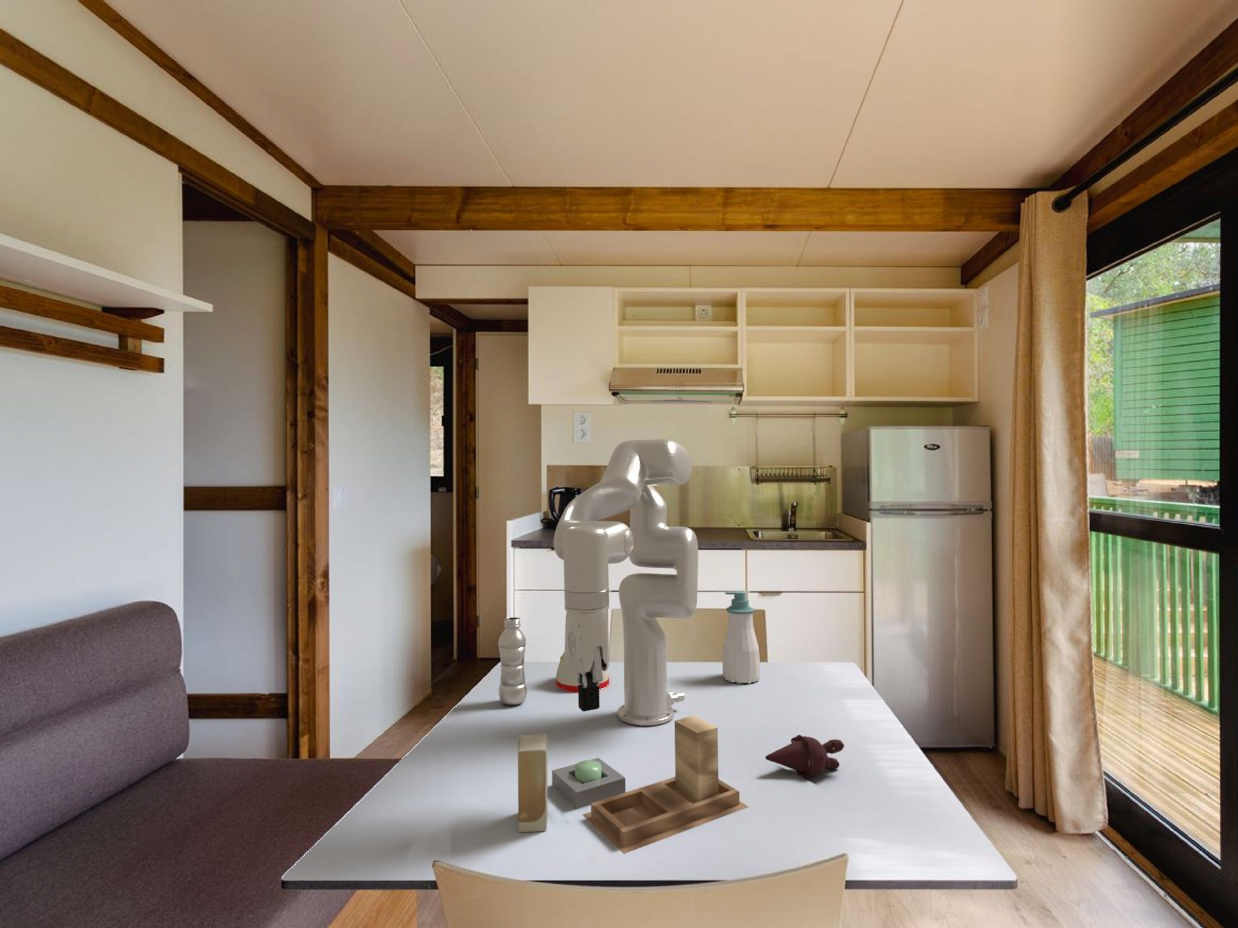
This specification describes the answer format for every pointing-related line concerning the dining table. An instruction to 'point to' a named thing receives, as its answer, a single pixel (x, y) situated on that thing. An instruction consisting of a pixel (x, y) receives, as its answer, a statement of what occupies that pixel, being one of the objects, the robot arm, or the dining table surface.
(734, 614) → the soap bottle
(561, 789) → the grey square holder
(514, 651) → the plastic bottle
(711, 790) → the block
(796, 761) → the icecream
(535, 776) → the skincare box
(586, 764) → the button
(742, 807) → the open wooden box
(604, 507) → the robot arm
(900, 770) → the dining table surface
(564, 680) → the cream and red dome
